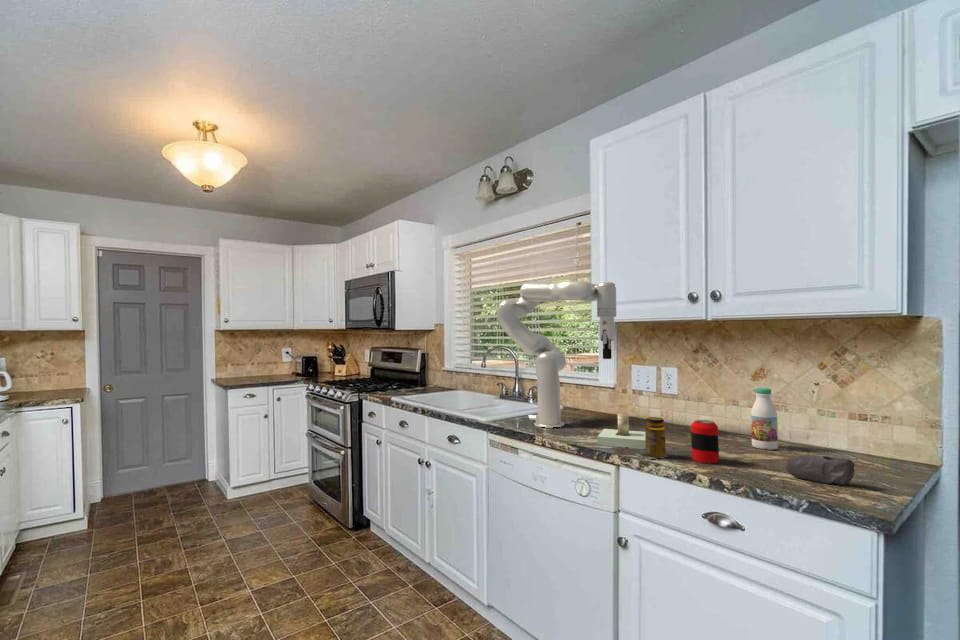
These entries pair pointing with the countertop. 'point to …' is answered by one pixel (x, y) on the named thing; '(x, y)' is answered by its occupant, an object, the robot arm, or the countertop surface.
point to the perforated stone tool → (821, 469)
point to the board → (622, 439)
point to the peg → (623, 424)
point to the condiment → (654, 438)
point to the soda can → (704, 441)
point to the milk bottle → (764, 421)
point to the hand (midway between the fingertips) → (607, 358)
